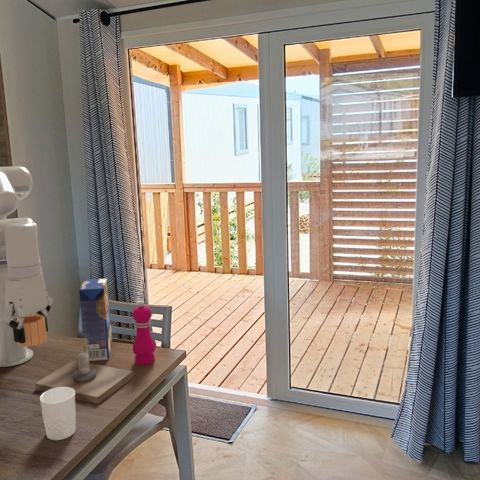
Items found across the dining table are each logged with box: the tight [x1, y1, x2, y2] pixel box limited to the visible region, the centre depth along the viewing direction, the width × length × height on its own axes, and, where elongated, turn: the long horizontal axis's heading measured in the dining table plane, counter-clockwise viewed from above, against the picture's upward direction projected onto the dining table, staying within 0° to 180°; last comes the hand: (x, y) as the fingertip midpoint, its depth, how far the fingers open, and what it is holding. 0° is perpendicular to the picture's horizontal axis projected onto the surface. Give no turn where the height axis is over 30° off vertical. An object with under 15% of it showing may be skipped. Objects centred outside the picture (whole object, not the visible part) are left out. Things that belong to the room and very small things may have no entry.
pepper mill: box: [132, 300, 157, 366], centre depth 155 cm, size 7×7×20 cm
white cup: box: [39, 387, 77, 441], centre depth 117 cm, size 8×8×10 cm
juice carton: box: [78, 277, 113, 362], centre depth 161 cm, size 12×8×24 cm, turn 9°
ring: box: [16, 313, 48, 347], centre depth 127 cm, size 7×7×6 cm
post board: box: [34, 352, 134, 405], centre depth 142 cm, size 22×16×9 cm
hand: (31, 336), depth 127 cm, fingers closed on ring, 7 cm apart
